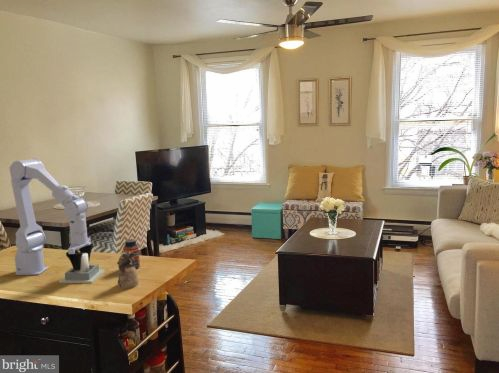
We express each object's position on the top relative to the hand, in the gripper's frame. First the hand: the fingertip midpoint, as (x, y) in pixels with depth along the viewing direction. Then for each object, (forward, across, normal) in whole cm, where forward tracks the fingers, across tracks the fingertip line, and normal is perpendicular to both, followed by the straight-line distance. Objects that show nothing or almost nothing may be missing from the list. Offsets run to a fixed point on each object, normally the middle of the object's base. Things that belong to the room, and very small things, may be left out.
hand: (81, 266), depth 161 cm
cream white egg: (+3, 0, 0) cm, 3 cm away
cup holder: (+4, 0, 0) cm, 4 cm away
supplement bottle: (+4, +9, -16) cm, 19 cm away
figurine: (+4, -8, -20) cm, 22 cm away
